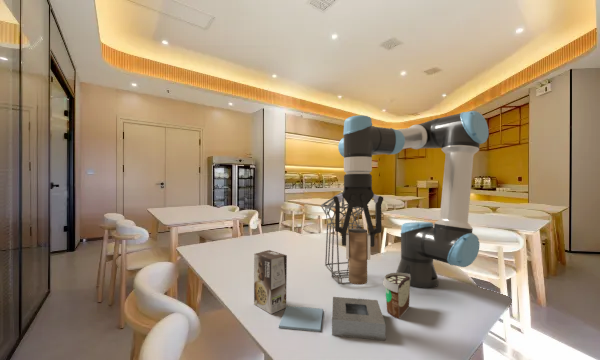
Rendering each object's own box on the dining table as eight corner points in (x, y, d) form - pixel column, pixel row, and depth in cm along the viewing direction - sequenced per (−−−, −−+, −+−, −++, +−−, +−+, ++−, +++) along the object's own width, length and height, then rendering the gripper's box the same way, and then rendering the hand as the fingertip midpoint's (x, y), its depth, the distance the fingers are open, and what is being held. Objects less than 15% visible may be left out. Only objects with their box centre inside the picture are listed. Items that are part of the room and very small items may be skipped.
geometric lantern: (331, 288, 94) (330, 192, 95) (320, 274, 109) (319, 192, 110) (371, 285, 97) (370, 192, 98) (355, 271, 112) (353, 191, 113)
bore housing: (377, 313, 76) (377, 300, 76) (385, 340, 63) (385, 324, 63) (332, 310, 78) (333, 296, 78) (331, 335, 65) (332, 319, 65)
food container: (391, 299, 85) (391, 269, 85) (410, 305, 81) (410, 273, 81) (376, 314, 76) (376, 280, 76) (397, 321, 72) (397, 285, 72)
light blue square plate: (322, 310, 77) (322, 308, 77) (320, 331, 66) (320, 329, 66) (286, 307, 79) (286, 305, 79) (278, 327, 68) (278, 325, 68)
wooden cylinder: (366, 278, 73) (366, 228, 73) (368, 285, 68) (368, 232, 68) (348, 277, 74) (348, 228, 74) (349, 284, 69) (348, 231, 69)
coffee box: (287, 307, 79) (287, 255, 79) (270, 314, 75) (271, 259, 75) (269, 297, 86) (269, 249, 86) (252, 304, 81) (253, 252, 81)
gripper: (388, 173, 73) (389, 255, 73) (325, 173, 76) (325, 252, 76) (394, 172, 66) (394, 263, 66) (324, 173, 68) (324, 260, 68)
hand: (357, 257), depth 71 cm, fingers closed on wooden cylinder, 5 cm apart
